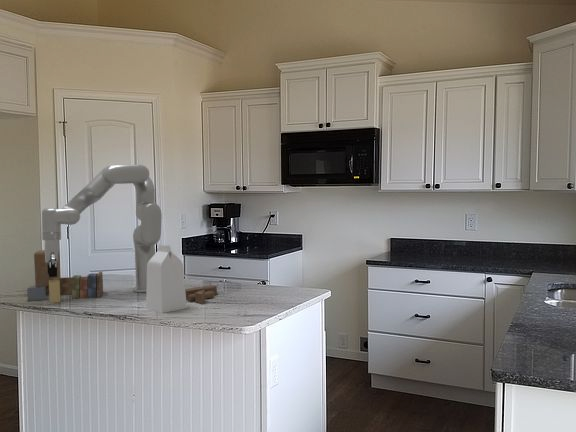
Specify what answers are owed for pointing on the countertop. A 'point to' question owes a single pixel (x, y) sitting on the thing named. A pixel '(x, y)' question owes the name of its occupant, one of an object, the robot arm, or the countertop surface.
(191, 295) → the wooden block set
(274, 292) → the countertop surface
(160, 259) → the milk
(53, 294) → the tan rectangular block
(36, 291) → the grey stone cube
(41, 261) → the wooden block
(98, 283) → the rack
